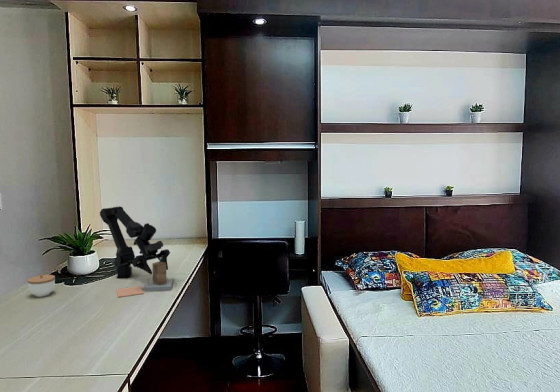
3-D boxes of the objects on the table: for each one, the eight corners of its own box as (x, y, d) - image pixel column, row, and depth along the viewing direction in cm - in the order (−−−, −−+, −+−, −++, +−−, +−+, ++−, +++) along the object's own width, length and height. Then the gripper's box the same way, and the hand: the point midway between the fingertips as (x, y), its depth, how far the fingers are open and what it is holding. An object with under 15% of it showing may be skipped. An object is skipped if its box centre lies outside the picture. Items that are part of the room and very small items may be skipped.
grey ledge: (146, 291, 187) (146, 287, 187) (150, 284, 198) (149, 280, 198) (170, 290, 189) (170, 286, 188) (172, 283, 199) (172, 279, 199)
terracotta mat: (116, 290, 189) (116, 289, 189) (140, 287, 194) (140, 286, 193) (117, 297, 179) (117, 296, 179) (143, 294, 184) (143, 292, 184)
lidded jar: (61, 292, 186) (60, 272, 185) (40, 299, 176) (39, 279, 175) (44, 289, 190) (42, 270, 189) (23, 297, 180) (21, 276, 179)
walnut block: (153, 283, 192) (152, 263, 191) (160, 281, 196) (160, 261, 195) (158, 285, 190) (158, 264, 189) (166, 282, 193) (166, 262, 192)
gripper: (134, 239, 186) (150, 266, 181) (167, 233, 201) (182, 257, 196) (125, 253, 192) (140, 280, 186) (157, 246, 207) (172, 270, 201)
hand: (159, 271), depth 192 cm, fingers open, 9 cm apart
